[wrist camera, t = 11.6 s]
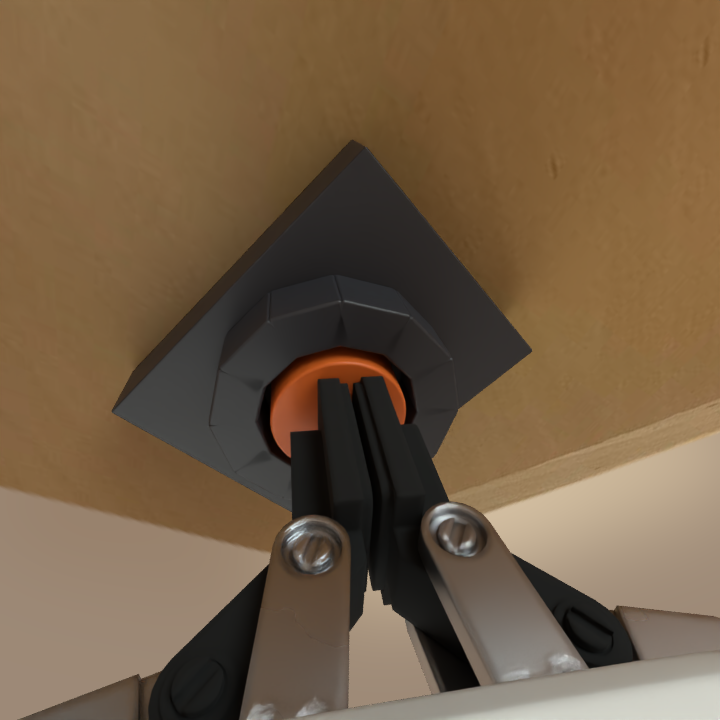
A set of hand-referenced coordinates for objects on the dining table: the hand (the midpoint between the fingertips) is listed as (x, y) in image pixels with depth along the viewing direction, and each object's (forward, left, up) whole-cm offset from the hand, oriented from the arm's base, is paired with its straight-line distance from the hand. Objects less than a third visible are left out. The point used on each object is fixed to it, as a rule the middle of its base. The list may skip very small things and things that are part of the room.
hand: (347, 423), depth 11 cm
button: (0, 0, -2) cm, 2 cm away
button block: (0, 0, -4) cm, 4 cm away
